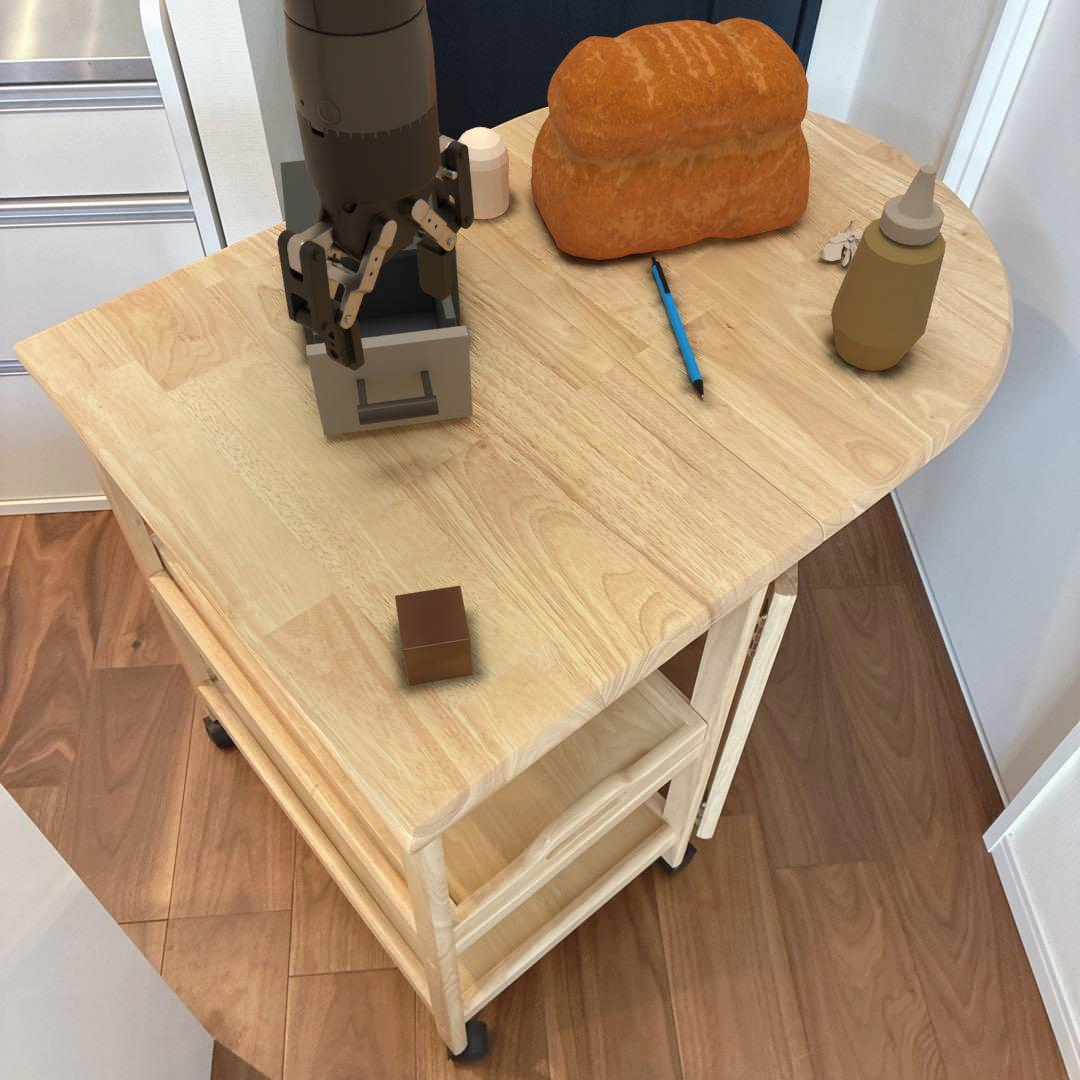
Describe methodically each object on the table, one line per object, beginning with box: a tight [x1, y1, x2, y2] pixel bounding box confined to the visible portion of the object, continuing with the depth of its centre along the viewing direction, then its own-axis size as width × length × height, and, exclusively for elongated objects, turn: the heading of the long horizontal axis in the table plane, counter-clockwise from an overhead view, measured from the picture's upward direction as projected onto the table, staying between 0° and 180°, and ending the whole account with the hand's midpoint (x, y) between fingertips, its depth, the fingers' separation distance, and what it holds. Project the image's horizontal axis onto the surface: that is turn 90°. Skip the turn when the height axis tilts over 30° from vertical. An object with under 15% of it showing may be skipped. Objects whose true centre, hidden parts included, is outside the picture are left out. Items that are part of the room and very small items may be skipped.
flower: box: [817, 219, 864, 267], centre depth 101 cm, size 8×8×3 cm
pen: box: [650, 256, 705, 398], centre depth 95 cm, size 1×19×1 cm, turn 9°
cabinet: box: [279, 159, 462, 345], centre depth 93 cm, size 14×13×10 cm
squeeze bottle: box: [830, 164, 947, 372], centre depth 87 cm, size 8×8×18 cm
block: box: [394, 585, 474, 686], centre depth 72 cm, size 4×4×4 cm
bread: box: [530, 16, 811, 261], centre depth 100 cm, size 16×26×17 cm, turn 106°
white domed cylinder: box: [457, 126, 510, 220], centre depth 104 cm, size 5×5×8 cm
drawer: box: [305, 255, 474, 437], centre depth 86 cm, size 18×12×9 cm
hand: (393, 327), depth 69 cm, fingers open, 8 cm apart
